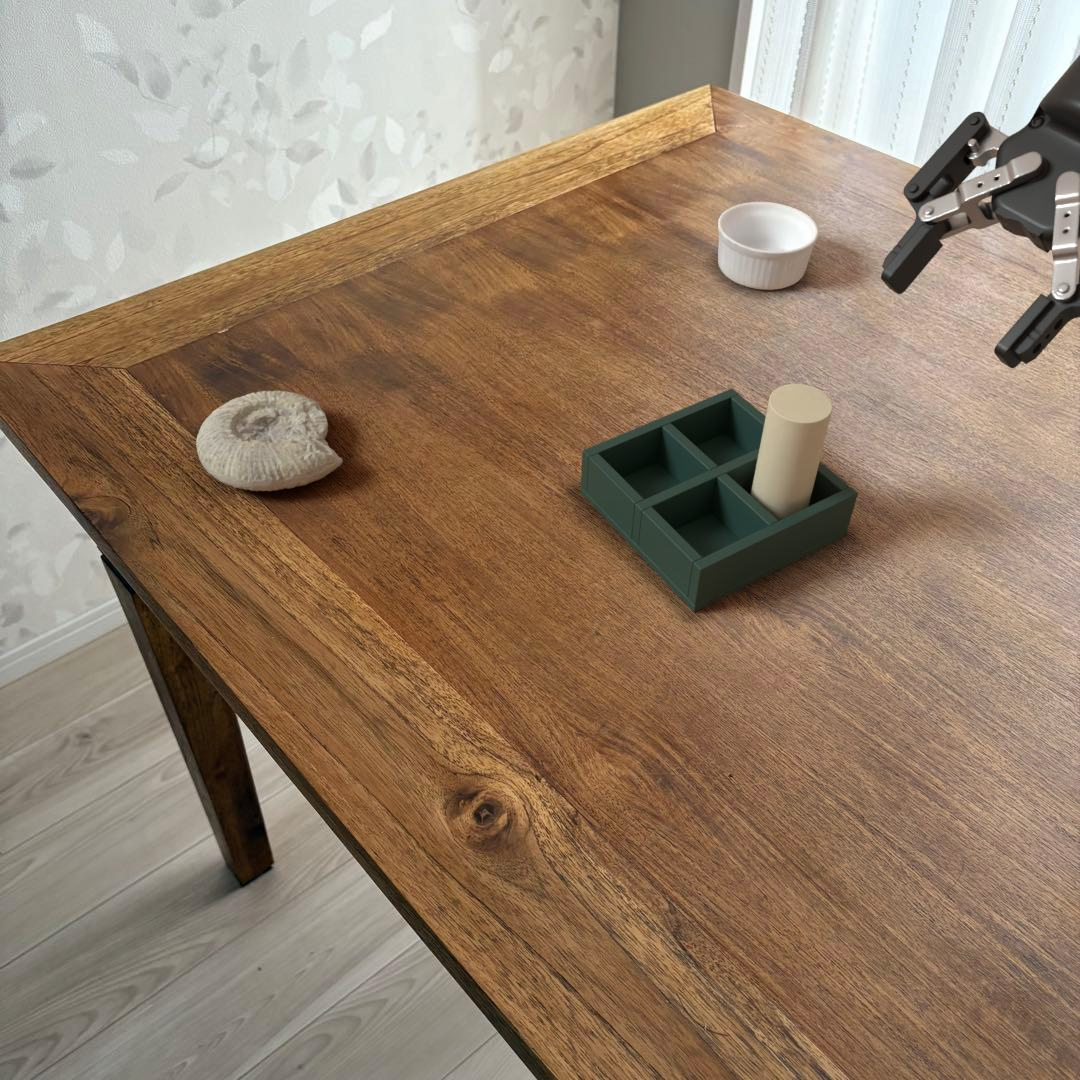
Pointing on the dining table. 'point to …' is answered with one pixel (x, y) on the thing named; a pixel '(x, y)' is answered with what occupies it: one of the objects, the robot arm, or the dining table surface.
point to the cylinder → (791, 448)
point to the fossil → (267, 442)
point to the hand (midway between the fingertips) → (944, 322)
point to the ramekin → (765, 244)
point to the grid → (706, 500)
